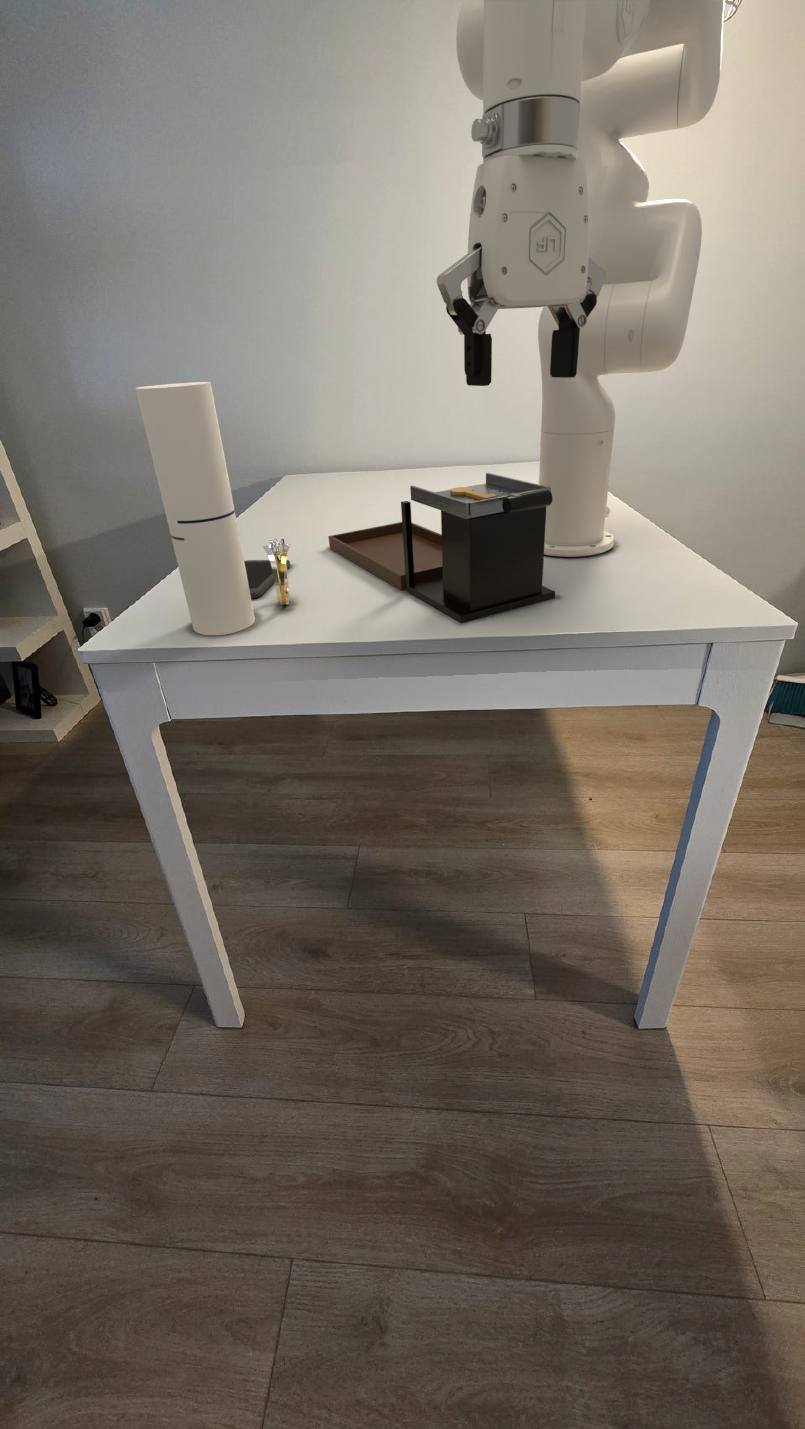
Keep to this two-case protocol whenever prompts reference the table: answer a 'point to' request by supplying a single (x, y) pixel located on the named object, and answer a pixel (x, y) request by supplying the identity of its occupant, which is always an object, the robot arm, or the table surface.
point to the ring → (279, 568)
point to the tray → (392, 552)
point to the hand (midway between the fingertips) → (521, 381)
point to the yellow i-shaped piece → (471, 493)
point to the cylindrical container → (198, 504)
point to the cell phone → (260, 576)
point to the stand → (483, 563)
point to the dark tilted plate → (509, 499)
